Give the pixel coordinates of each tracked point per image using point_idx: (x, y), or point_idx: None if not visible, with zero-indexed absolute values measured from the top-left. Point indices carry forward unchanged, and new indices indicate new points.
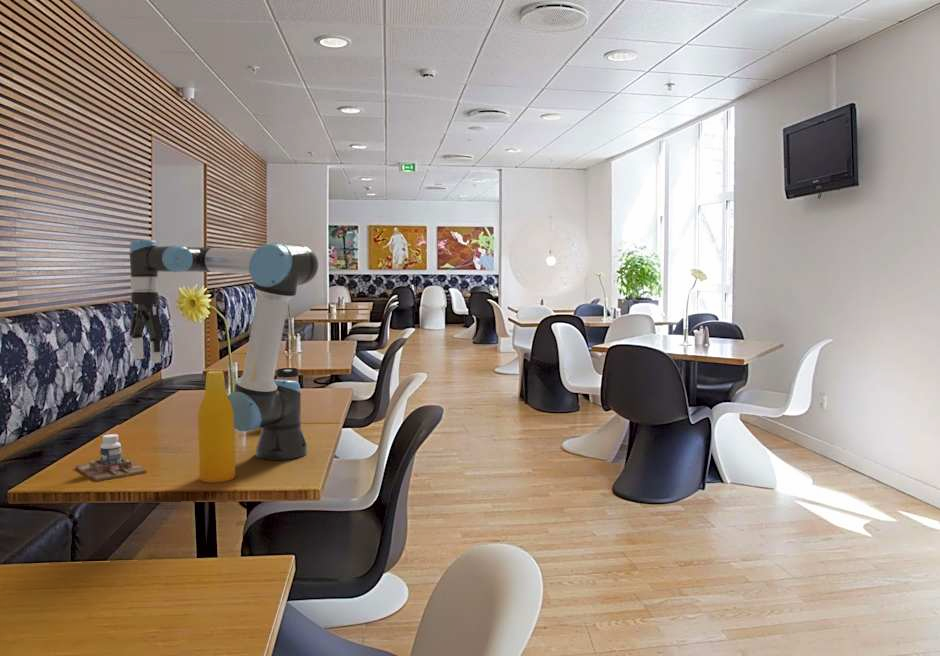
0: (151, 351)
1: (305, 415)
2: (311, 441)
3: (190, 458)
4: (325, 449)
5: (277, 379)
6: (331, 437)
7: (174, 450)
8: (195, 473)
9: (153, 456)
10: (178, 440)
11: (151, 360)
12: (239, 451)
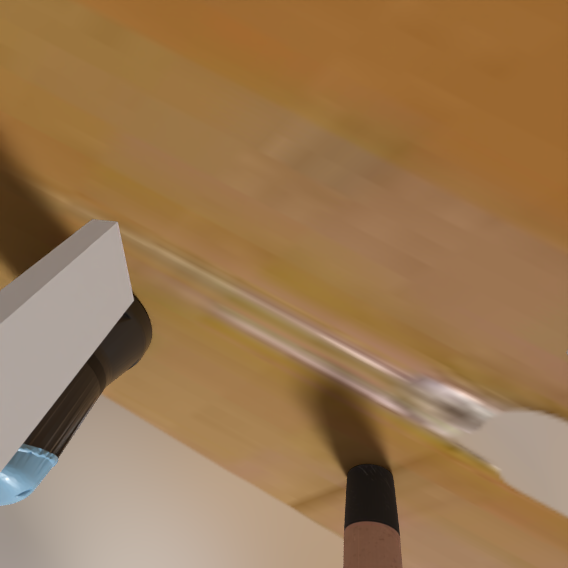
0: (8, 290)
1: (410, 527)
2: (175, 408)
3: (187, 158)
4: None
5: (2, 494)
6: (183, 441)
7: (320, 177)
8: (5, 78)
9: (292, 86)
10: (439, 252)
11: (90, 234)
12: (182, 281)
